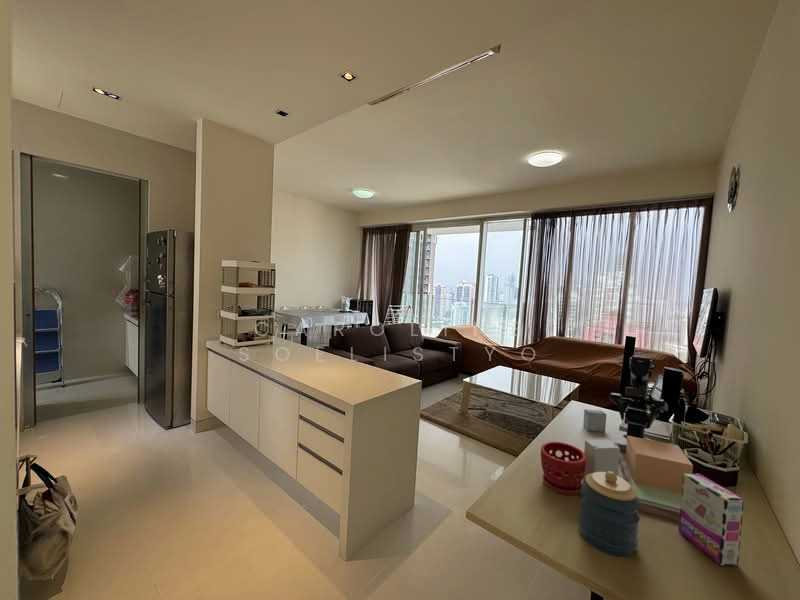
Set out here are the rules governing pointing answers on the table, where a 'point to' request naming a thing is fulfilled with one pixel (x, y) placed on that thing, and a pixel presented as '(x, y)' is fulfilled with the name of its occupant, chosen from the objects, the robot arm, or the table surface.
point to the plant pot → (563, 467)
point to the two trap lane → (652, 494)
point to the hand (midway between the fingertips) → (635, 422)
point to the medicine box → (594, 420)
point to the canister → (609, 513)
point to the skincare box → (601, 457)
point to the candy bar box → (711, 518)
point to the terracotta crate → (657, 464)
